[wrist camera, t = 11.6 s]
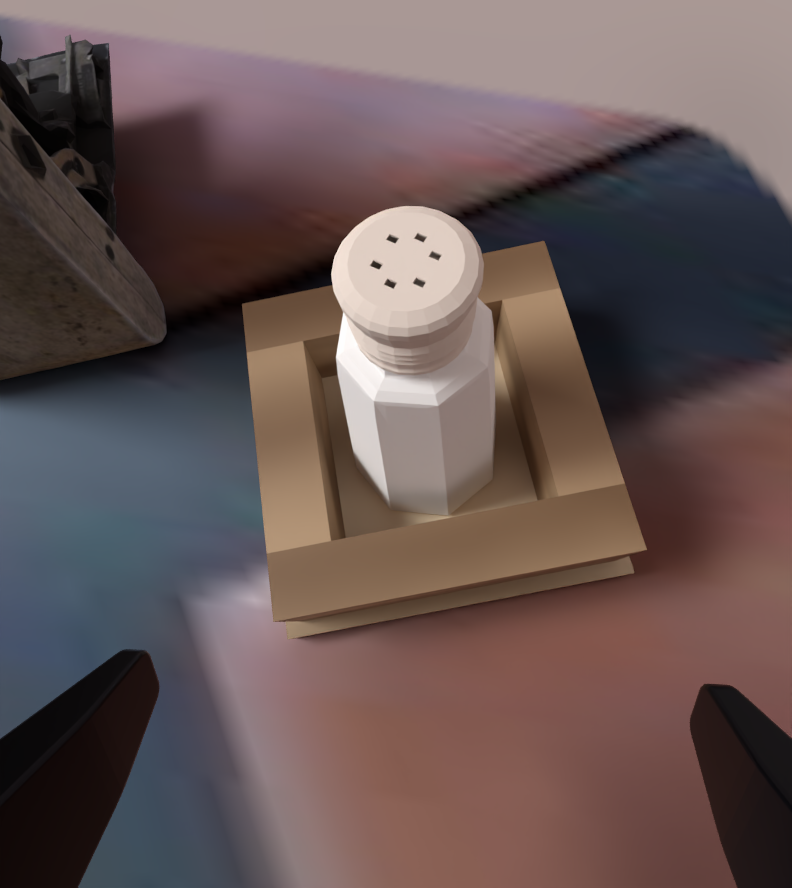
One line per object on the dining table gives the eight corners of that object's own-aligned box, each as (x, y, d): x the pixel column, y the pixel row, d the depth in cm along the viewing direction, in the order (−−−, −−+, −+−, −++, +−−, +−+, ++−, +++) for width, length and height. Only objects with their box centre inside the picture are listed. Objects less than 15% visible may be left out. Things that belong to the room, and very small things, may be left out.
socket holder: (625, 575, 19) (670, 564, 15) (295, 638, 19) (258, 642, 15) (536, 291, 23) (554, 226, 19) (263, 348, 23) (227, 295, 19)
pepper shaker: (458, 546, 19) (474, 455, 8) (328, 477, 20) (200, 320, 10) (524, 418, 20) (609, 199, 10) (398, 360, 21) (352, 109, 11)
